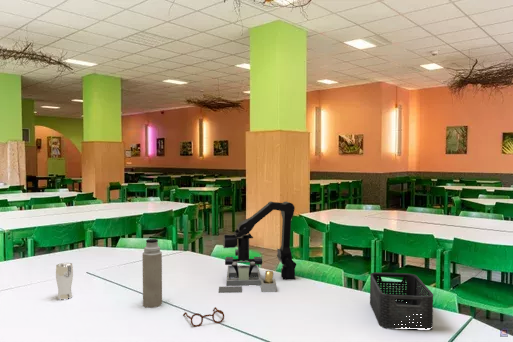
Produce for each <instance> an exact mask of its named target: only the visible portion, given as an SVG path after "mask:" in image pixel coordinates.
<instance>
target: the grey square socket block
mask: <svg viewBox="0 0 513 342" xmlns="http://www.w3.org/2000/svg"><path fill="white" fill-rule="evenodd" d="M259 286H260V287H259V288H260V293H276V292H277V282H276V279H274V278H273V282H272V283H265V279H261V280H260V285H259Z"/></svg>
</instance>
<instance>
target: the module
mask: <svg viewBox="0 0 513 342" xmlns="http://www.w3.org/2000/svg"><path fill="white" fill-rule="evenodd" d="M244 265H245V264H244ZM238 280H250V277H249V267H248V266H247V264H246V265H245V266H239V278H238Z"/></svg>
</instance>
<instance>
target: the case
mask: <svg viewBox="0 0 513 342" xmlns="http://www.w3.org/2000/svg"><path fill="white" fill-rule="evenodd" d="M237 265H238V264H237ZM246 265H247V264H246ZM239 266H245V264H244V265H243V264H242V265H241V264H240V265H238V272H239ZM247 266H248V267H249V266H250V264H248V265H247ZM259 268H260V267H259V265H256V266H254V267H253V269H252V271H251V274H250V277H249V278H257V279H249V280H239V279H234V278H238V276H237V273H236V271H235V269H234V267H232V265H227V270H226V271H227V272H226V282H225V283H226V287H232V286H242V287H248V286H249V285H256V286H260V280H262V278H261V273H260V269H259ZM233 277H234V278H233ZM230 278H231V279H230ZM233 279H234V280H233Z"/></svg>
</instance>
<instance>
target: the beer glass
mask: <svg viewBox="0 0 513 342" xmlns="http://www.w3.org/2000/svg"><path fill="white" fill-rule="evenodd" d="M73 267H74V266H73V263H72V262H62V263H59V264H56V268H55V279H56V284H57V298H58V299H67V300H69V299H68V298H70V299H71V297H72V298H73V292H72V286H73V280H74V279H73V278H74V269H73ZM57 298H56V299H57ZM58 299H57V300H58Z"/></svg>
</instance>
